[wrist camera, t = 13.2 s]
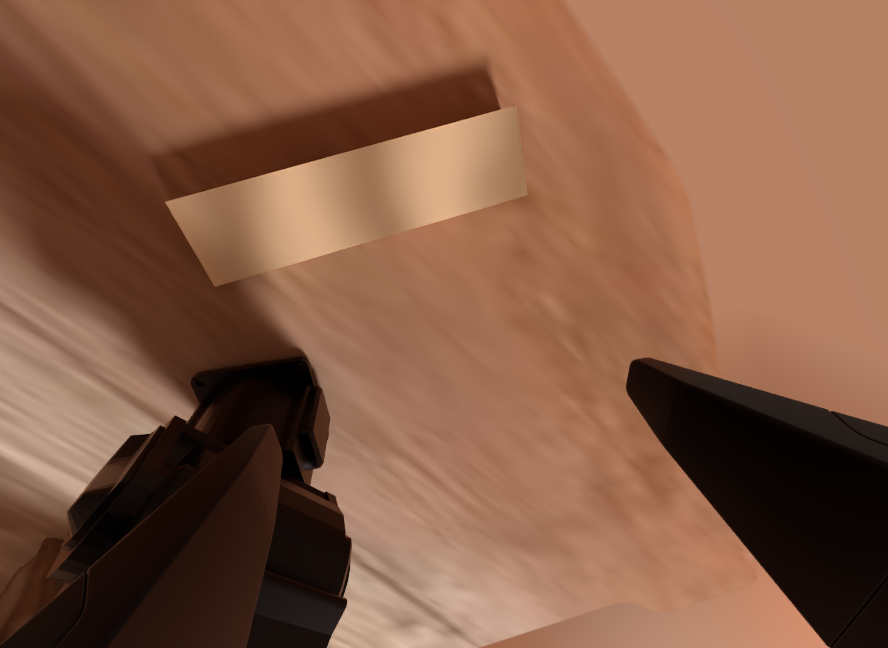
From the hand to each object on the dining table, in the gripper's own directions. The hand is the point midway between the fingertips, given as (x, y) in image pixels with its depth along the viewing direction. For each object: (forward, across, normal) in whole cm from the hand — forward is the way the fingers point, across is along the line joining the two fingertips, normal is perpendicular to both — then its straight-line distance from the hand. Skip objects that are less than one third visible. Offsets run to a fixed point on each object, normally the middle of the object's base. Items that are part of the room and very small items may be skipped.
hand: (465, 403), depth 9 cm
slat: (+13, +2, -4) cm, 14 cm away
